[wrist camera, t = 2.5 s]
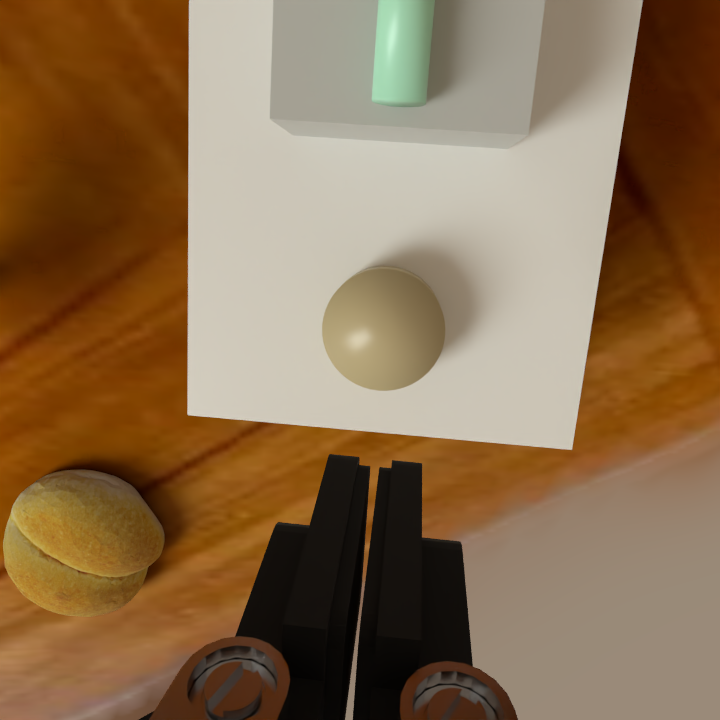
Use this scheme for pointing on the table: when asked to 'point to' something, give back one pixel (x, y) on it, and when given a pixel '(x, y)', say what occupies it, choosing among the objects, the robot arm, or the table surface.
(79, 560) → the bread roll
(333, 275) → the levelling plate
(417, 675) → the robot arm
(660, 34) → the table surface
